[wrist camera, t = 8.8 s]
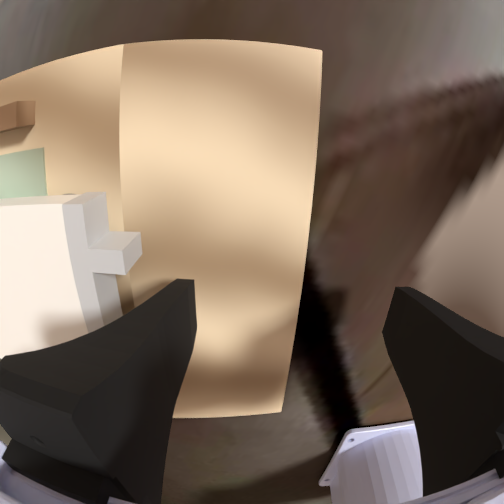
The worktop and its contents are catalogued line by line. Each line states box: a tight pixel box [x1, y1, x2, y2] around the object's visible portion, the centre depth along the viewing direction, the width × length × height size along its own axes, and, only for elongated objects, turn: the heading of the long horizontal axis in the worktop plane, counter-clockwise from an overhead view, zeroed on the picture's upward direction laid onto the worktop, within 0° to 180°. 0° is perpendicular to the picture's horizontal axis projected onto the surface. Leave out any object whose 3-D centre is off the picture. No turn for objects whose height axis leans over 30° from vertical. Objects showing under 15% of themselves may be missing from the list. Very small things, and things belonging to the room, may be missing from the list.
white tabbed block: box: [0, 192, 142, 359], centre depth 10 cm, size 8×11×2 cm
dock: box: [0, 39, 322, 418], centre depth 12 cm, size 18×18×4 cm
